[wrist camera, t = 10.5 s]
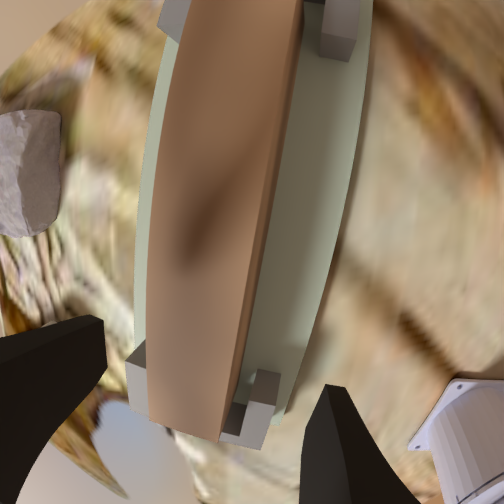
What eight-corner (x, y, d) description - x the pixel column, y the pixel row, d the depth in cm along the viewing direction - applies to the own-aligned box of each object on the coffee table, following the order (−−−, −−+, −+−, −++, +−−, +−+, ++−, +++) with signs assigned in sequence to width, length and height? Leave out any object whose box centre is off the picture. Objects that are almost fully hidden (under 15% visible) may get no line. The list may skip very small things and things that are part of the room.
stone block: (78, 226, 21) (68, 98, 16) (36, 253, 17) (16, 107, 12) (6, 212, 23) (-5, 117, 18) (-28, 232, 19) (-44, 129, 14)
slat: (304, 23, 12) (301, -29, 7) (237, 387, 19) (217, 442, 14) (230, 17, 13) (201, -30, 8) (180, 371, 19) (149, 420, 14)
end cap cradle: (370, 3, 12) (383, -32, 8) (280, 416, 20) (273, 457, 16) (189, -12, 13) (164, -43, 9) (142, 377, 21) (118, 408, 17)
